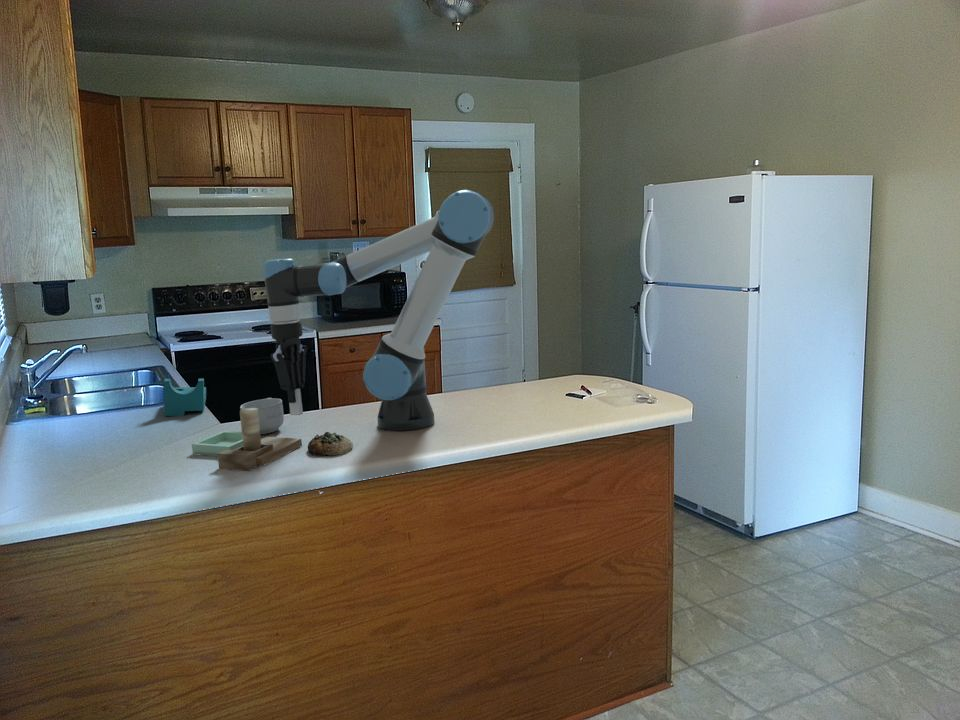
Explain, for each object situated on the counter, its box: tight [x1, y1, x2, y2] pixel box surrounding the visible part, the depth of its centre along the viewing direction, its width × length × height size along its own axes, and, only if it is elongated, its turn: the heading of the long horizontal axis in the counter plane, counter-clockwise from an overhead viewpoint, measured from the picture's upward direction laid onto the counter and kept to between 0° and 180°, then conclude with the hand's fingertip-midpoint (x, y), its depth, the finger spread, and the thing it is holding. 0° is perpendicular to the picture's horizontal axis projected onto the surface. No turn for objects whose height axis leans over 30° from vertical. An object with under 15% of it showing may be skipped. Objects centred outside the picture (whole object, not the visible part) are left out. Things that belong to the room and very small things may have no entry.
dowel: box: [239, 408, 262, 451], centre depth 178 cm, size 4×4×10 cm
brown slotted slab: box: [234, 436, 303, 467], centre depth 183 cm, size 10×16×4 cm, turn 160°
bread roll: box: [307, 431, 354, 457], centre depth 184 cm, size 11×11×5 cm
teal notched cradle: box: [163, 378, 207, 417], centre depth 234 cm, size 18×11×10 cm, turn 17°
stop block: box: [217, 450, 257, 472], centre depth 173 cm, size 8×3×4 cm, turn 70°
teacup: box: [239, 397, 285, 435], centre depth 204 cm, size 14×11×8 cm
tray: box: [191, 430, 262, 457], centre depth 189 cm, size 11×12×2 cm
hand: (296, 414), depth 194 cm, fingers closed
